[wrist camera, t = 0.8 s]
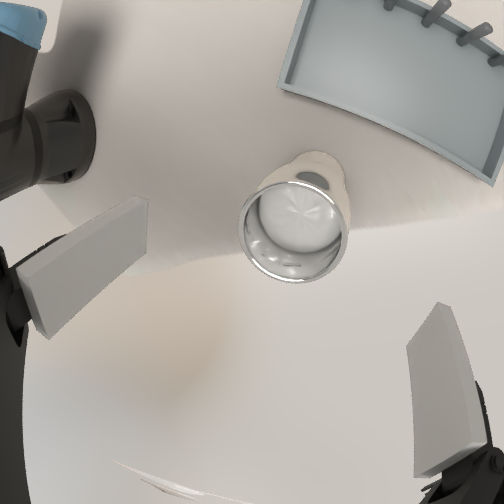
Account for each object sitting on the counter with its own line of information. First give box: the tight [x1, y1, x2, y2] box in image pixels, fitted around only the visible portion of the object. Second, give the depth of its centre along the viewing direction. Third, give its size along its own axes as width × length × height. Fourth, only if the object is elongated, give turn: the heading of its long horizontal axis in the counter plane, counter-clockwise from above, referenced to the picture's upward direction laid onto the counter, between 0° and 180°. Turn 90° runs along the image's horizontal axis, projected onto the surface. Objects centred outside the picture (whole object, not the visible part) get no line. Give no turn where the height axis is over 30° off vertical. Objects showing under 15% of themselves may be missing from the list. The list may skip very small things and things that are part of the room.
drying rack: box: [276, 0, 504, 187], centre depth 18 cm, size 23×14×8 cm, turn 74°
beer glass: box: [238, 151, 351, 283], centre depth 23 cm, size 7×7×15 cm
